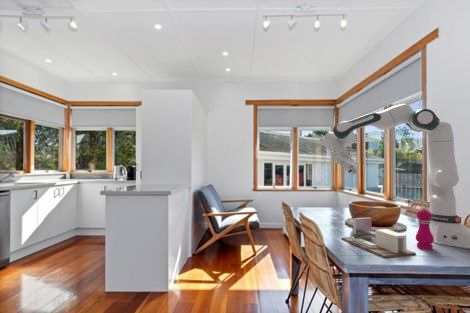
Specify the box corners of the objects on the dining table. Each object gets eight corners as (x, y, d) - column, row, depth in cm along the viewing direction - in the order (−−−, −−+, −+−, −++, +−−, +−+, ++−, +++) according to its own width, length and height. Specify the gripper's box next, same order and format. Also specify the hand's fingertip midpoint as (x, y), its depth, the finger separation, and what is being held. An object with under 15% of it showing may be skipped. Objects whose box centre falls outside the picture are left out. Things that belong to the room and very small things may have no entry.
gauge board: (341, 239, 145) (341, 237, 146) (368, 237, 149) (368, 235, 149) (383, 258, 116) (383, 255, 116) (415, 255, 120) (415, 252, 120)
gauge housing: (375, 245, 132) (375, 229, 132) (386, 244, 133) (385, 229, 133) (395, 252, 120) (395, 236, 120) (406, 251, 121) (406, 235, 122)
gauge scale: (351, 240, 140) (351, 237, 140) (356, 239, 141) (356, 236, 141) (371, 248, 126) (371, 245, 127) (376, 247, 127) (376, 244, 127)
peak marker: (353, 237, 139) (353, 233, 139) (358, 237, 139) (358, 233, 139) (355, 237, 138) (355, 234, 138) (360, 237, 138) (360, 234, 138)
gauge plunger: (347, 237, 144) (347, 218, 144) (369, 235, 147) (369, 217, 147) (374, 248, 125) (373, 227, 125) (399, 246, 128) (398, 225, 128)
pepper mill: (412, 245, 134) (411, 205, 134) (425, 245, 134) (424, 205, 135) (423, 250, 127) (422, 208, 127) (437, 250, 127) (436, 207, 128)
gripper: (335, 146, 155) (347, 164, 146) (352, 155, 167) (364, 172, 159) (326, 153, 158) (338, 171, 149) (344, 161, 171) (355, 178, 162)
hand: (352, 172), depth 154 cm, fingers open, 8 cm apart
